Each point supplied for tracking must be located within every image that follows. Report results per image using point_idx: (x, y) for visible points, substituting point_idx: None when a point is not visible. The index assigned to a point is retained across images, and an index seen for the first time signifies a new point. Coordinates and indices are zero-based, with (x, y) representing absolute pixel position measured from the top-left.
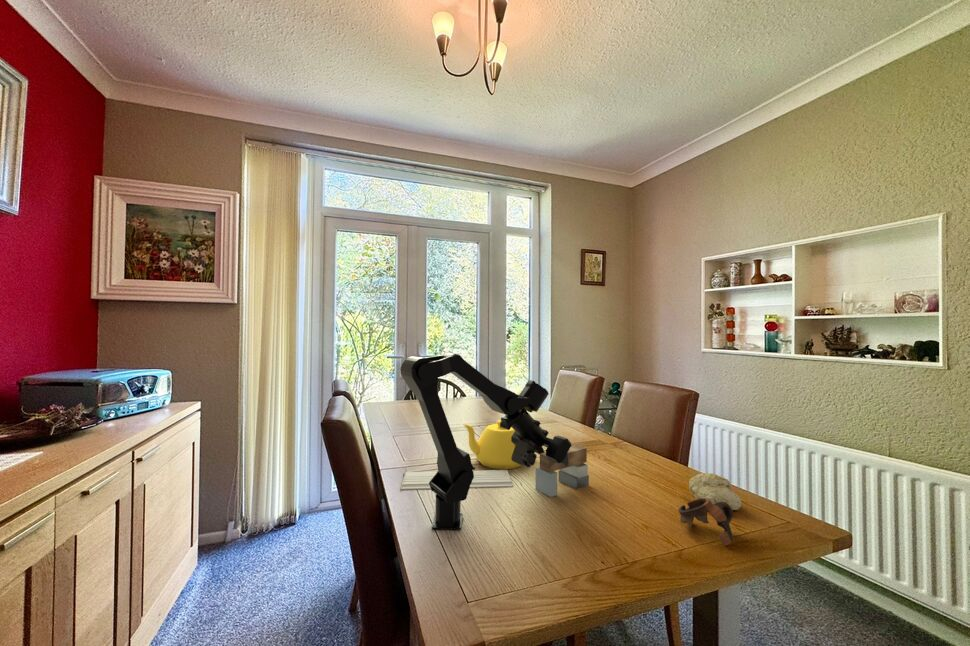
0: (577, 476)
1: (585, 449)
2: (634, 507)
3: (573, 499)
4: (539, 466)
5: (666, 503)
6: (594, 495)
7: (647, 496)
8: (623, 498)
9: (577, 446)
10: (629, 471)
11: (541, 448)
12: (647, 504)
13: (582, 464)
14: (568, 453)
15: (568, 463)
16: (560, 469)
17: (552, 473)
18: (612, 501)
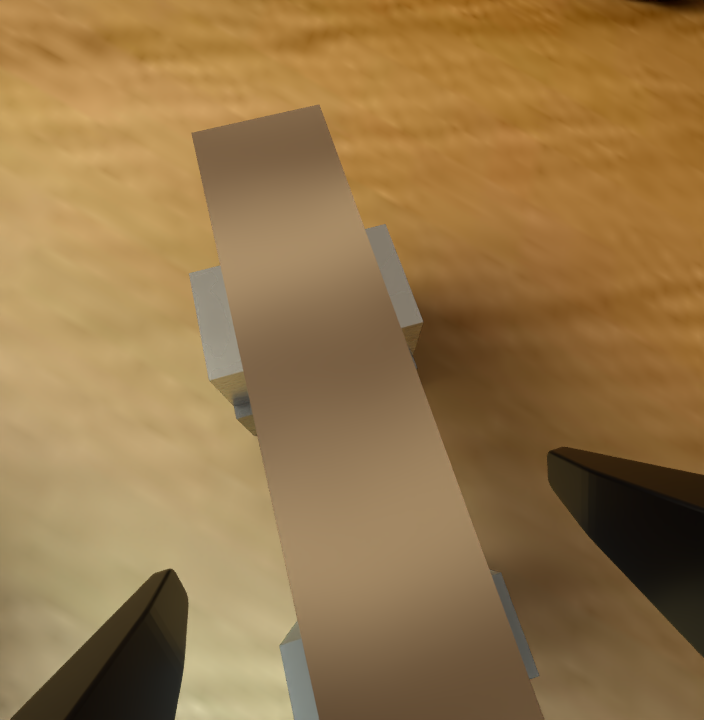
0: (411, 352)
1: (323, 125)
2: (660, 230)
3: (534, 483)
4: (295, 694)
5: (628, 95)
6: (502, 334)
7: (552, 119)
8: (559, 220)
9: (236, 152)
10: (274, 35)
11: (139, 657)
12: (633, 164)
13: None
14: (403, 344)
15: (564, 450)
16: (239, 401)
17: (523, 644)
18: (586, 287)
